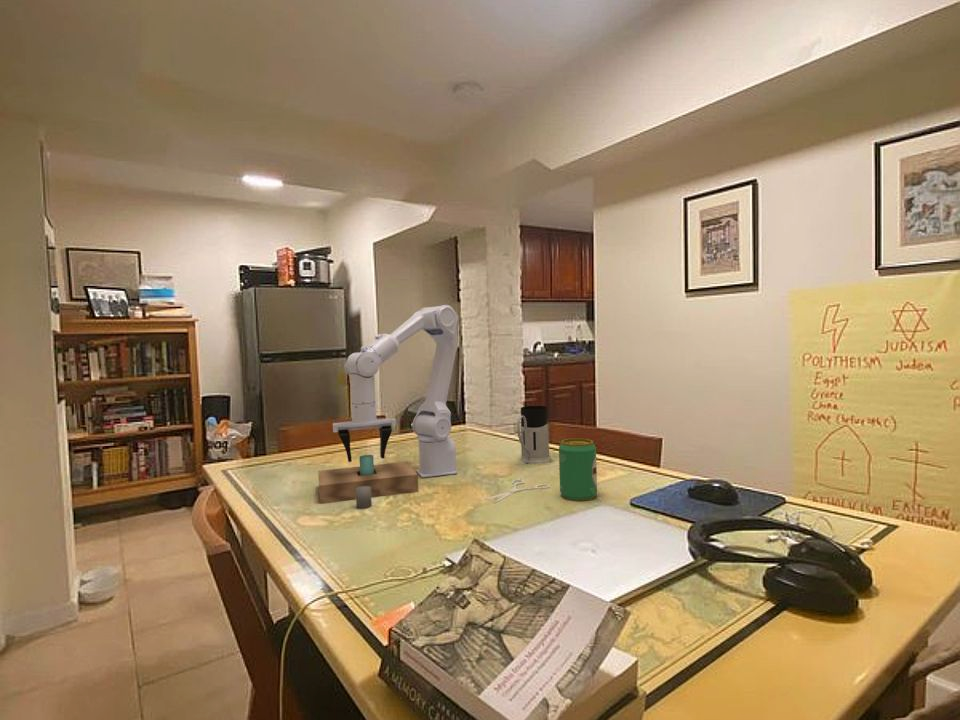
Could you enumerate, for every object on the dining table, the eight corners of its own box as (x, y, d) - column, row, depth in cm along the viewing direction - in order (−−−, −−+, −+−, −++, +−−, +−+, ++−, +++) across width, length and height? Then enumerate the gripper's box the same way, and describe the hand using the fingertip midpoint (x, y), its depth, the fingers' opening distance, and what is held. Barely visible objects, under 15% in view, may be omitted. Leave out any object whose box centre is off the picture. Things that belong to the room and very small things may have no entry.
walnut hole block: (407, 476, 136) (407, 461, 136) (418, 491, 123) (417, 474, 123) (318, 487, 130) (318, 470, 129) (319, 503, 116) (319, 485, 116)
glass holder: (556, 458, 152) (554, 406, 151) (534, 469, 140) (532, 413, 139) (528, 455, 156) (527, 404, 156) (505, 466, 144) (503, 411, 144)
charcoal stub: (370, 503, 115) (370, 485, 115) (372, 507, 112) (371, 489, 112) (355, 505, 114) (355, 487, 114) (357, 509, 111) (356, 491, 111)
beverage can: (597, 502, 111) (596, 445, 110) (559, 500, 112) (557, 445, 112) (596, 490, 119) (595, 438, 118) (561, 490, 120) (559, 437, 120)
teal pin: (376, 487, 127) (375, 454, 127) (371, 491, 124) (369, 458, 124) (364, 487, 128) (362, 454, 128) (358, 491, 125) (357, 457, 124)
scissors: (555, 483, 125) (504, 505, 109) (555, 487, 125) (504, 509, 109) (519, 477, 132) (466, 496, 116) (519, 480, 132) (466, 500, 116)
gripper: (391, 398, 131) (394, 452, 132) (331, 403, 127) (334, 459, 128) (396, 401, 125) (398, 458, 125) (332, 406, 120) (335, 465, 121)
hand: (366, 459), depth 126 cm, fingers open, 7 cm apart
